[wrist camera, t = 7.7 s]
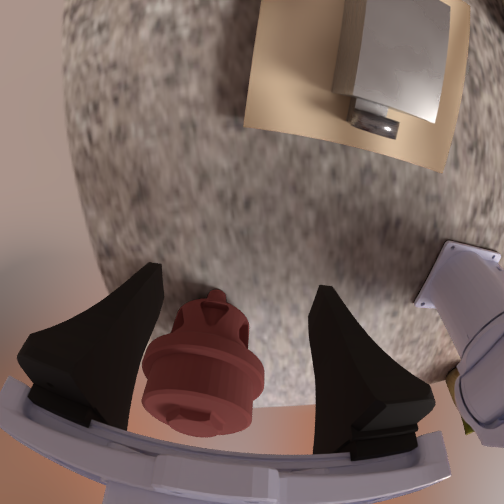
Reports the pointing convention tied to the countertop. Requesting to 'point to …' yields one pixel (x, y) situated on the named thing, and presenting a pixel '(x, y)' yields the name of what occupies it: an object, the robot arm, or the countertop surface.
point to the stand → (321, 77)
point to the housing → (391, 61)
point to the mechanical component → (203, 370)
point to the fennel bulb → (451, 385)
